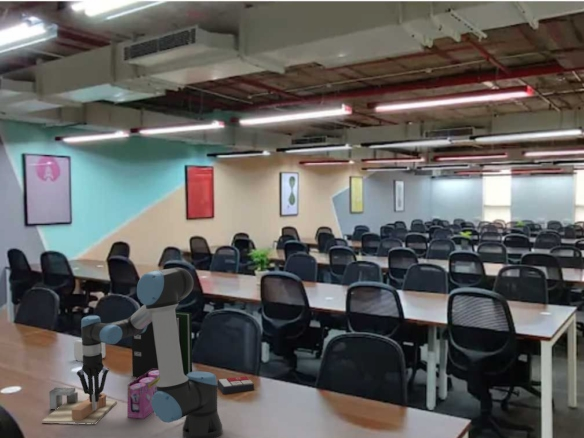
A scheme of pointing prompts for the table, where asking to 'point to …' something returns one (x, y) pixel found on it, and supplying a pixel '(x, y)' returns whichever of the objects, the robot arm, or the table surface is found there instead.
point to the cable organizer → (78, 350)
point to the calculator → (234, 385)
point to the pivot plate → (66, 416)
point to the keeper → (57, 396)
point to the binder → (146, 349)
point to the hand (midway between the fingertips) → (94, 409)
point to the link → (87, 407)
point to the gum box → (142, 394)
